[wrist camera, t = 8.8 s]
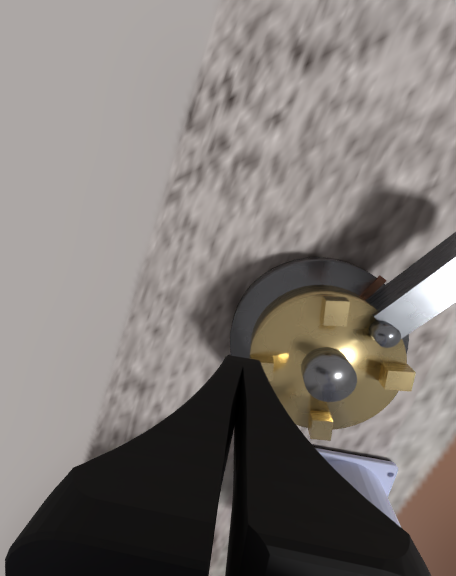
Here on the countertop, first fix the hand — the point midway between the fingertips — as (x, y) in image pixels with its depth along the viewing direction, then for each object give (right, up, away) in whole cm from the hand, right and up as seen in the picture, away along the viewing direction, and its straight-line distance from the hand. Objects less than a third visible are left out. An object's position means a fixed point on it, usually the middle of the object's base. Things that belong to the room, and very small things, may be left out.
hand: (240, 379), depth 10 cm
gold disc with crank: (+9, +2, +6) cm, 11 cm away
